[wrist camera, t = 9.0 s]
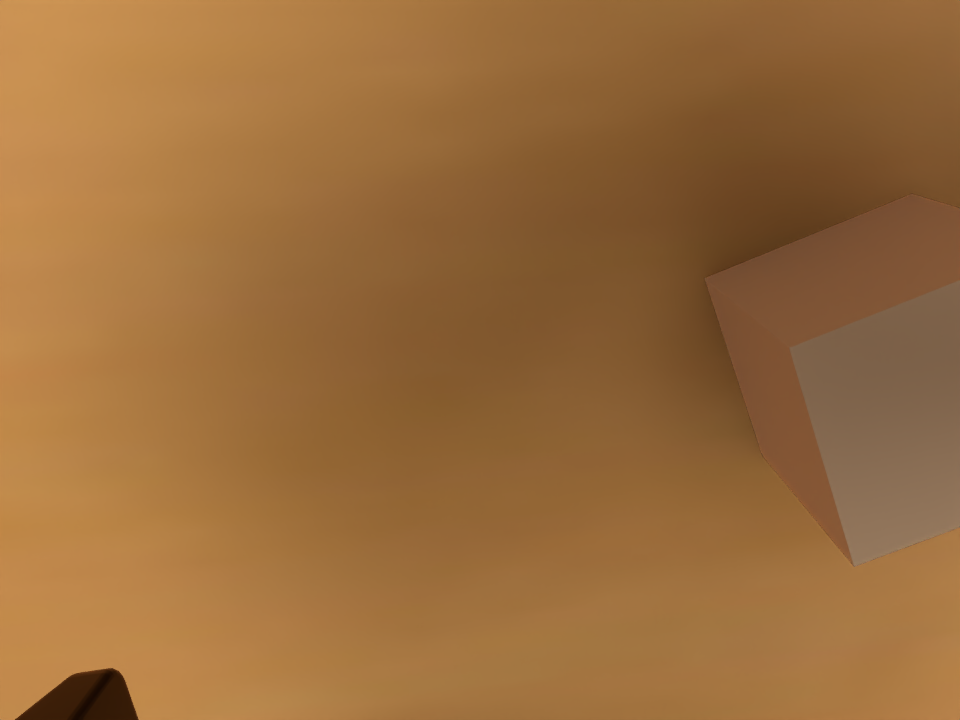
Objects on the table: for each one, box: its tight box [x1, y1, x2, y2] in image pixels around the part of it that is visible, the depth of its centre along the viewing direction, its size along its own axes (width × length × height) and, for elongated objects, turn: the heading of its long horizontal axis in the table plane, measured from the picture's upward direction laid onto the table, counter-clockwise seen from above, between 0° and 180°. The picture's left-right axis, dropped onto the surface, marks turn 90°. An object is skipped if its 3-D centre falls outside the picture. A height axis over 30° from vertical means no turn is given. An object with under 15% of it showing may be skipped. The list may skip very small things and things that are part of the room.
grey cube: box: [704, 194, 960, 567], centre depth 18 cm, size 5×5×5 cm
